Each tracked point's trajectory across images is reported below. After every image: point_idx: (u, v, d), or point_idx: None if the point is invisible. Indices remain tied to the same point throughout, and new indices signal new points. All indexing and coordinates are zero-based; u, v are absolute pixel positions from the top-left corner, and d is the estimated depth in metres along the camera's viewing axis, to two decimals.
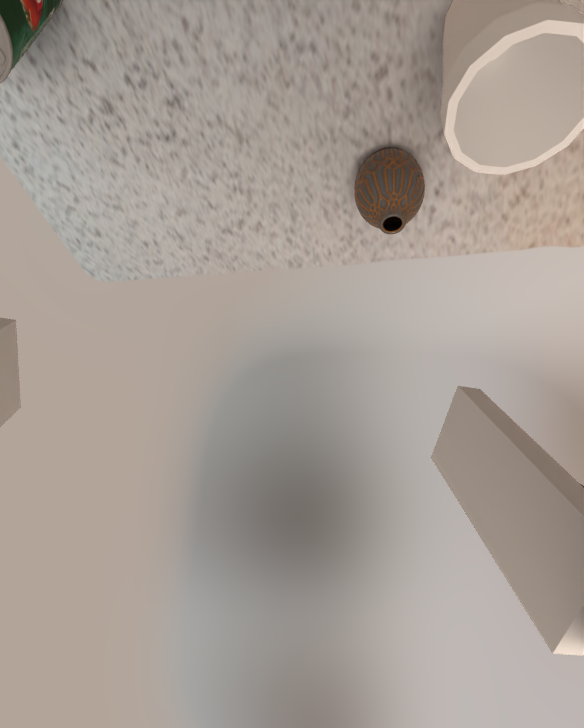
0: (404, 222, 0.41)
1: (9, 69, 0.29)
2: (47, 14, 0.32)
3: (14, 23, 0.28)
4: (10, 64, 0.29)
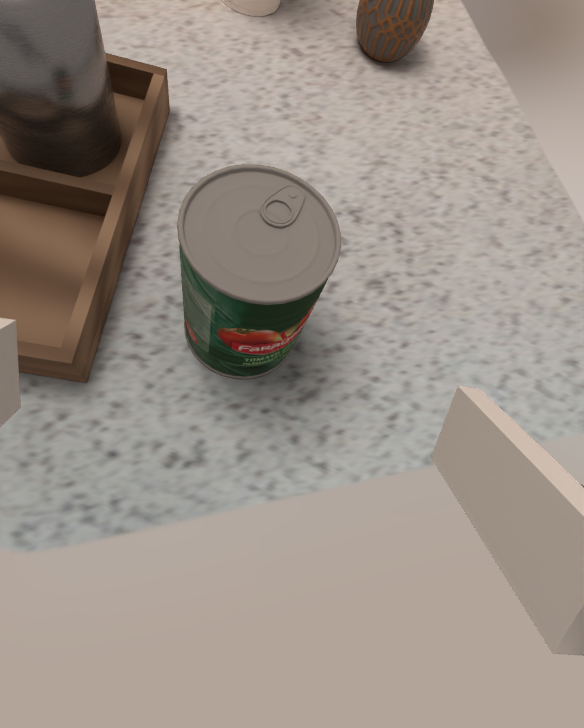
0: None
1: (308, 184, 0.22)
2: None
3: None
4: (301, 179, 0.22)
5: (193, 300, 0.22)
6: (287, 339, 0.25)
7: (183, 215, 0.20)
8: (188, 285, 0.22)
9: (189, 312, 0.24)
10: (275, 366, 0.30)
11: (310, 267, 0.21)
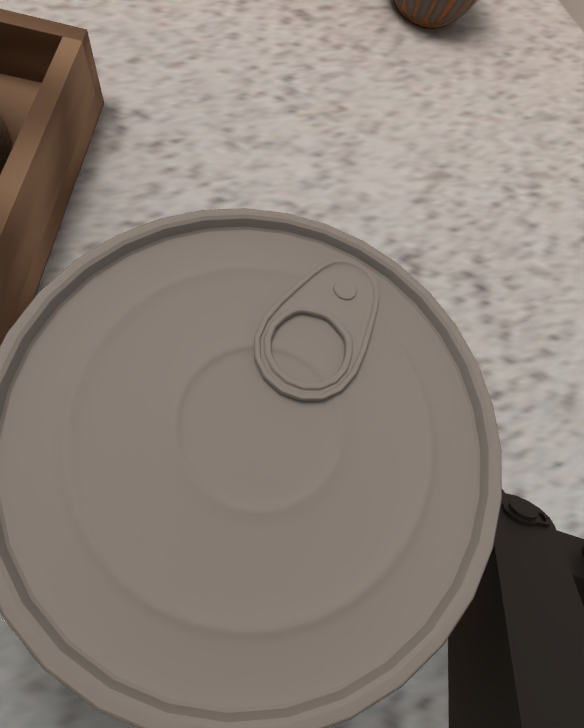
0: None
1: (384, 256, 0.08)
2: None
3: None
4: (366, 243, 0.08)
5: None
6: None
7: None
8: None
9: None
10: None
11: (420, 536, 0.07)
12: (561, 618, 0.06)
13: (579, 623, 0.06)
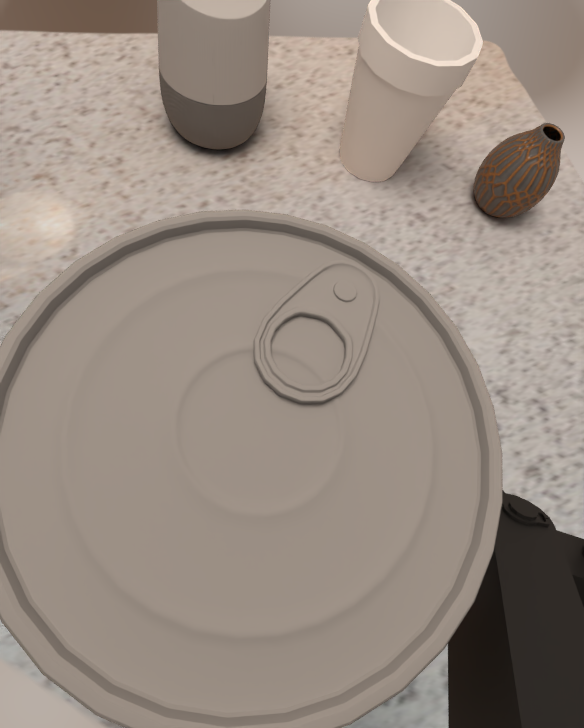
0: (545, 123, 0.39)
1: (385, 257, 0.08)
2: None
3: None
4: (367, 245, 0.08)
5: None
6: None
7: None
8: None
9: None
10: None
11: (421, 538, 0.06)
12: (561, 618, 0.06)
13: (579, 623, 0.06)
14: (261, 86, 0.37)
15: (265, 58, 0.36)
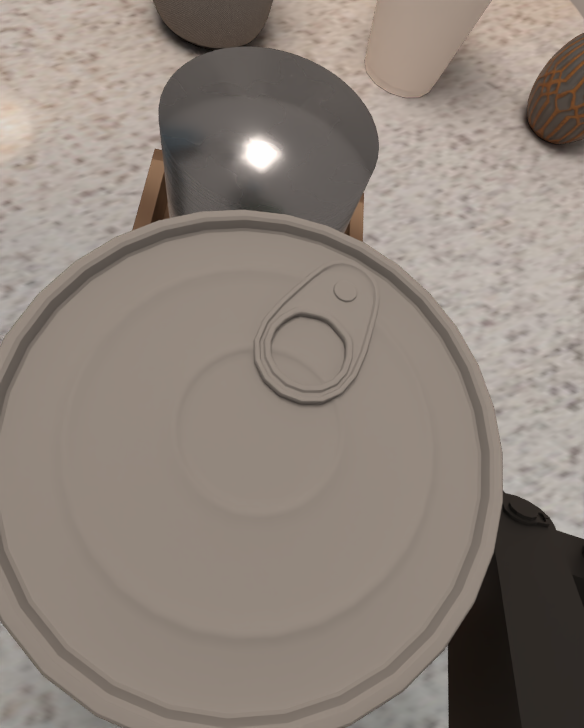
0: None
1: (385, 257, 0.08)
2: None
3: None
4: (366, 245, 0.08)
5: None
6: None
7: None
8: None
9: None
10: None
11: (421, 539, 0.06)
12: (561, 618, 0.06)
13: (579, 623, 0.06)
14: None
15: None
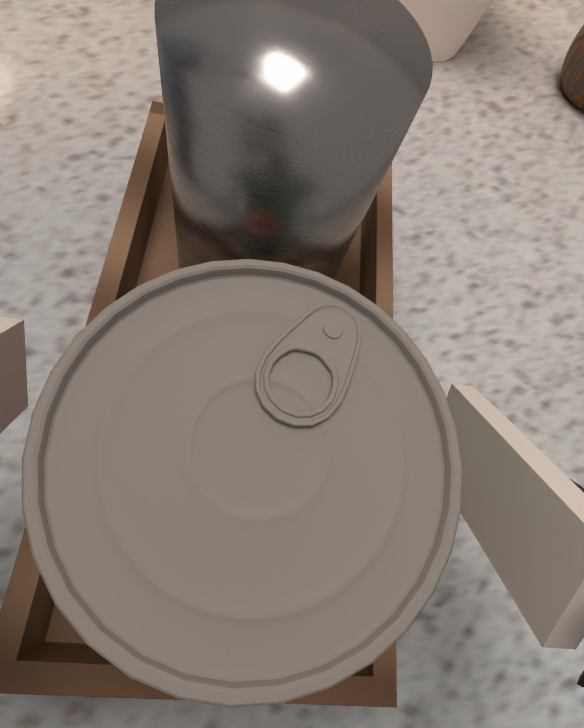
0: None
1: (367, 299, 0.09)
2: None
3: None
4: (352, 289, 0.09)
5: None
6: None
7: (44, 425, 0.07)
8: None
9: None
10: None
11: (392, 541, 0.08)
12: None
13: None
14: None
15: None
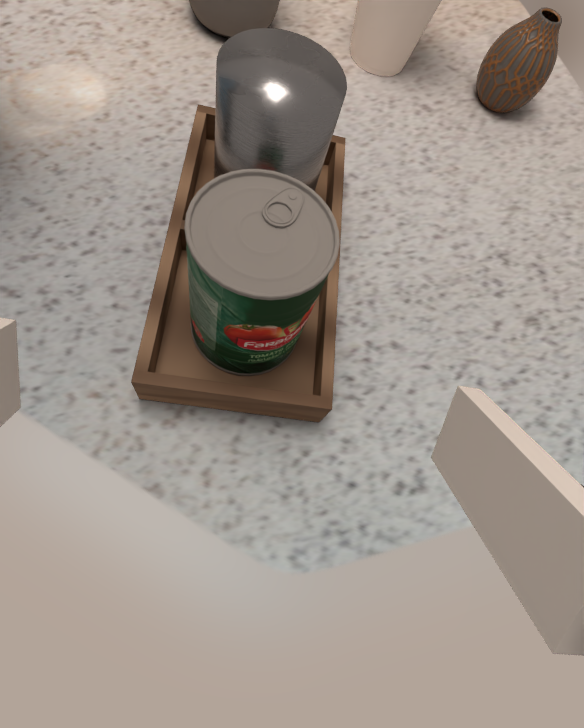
0: (544, 8, 0.41)
1: (307, 186, 0.23)
2: None
3: None
4: (300, 181, 0.23)
5: (200, 299, 0.23)
6: (290, 335, 0.26)
7: (190, 218, 0.21)
8: (195, 284, 0.23)
9: (196, 311, 0.26)
10: (279, 363, 0.31)
11: (311, 264, 0.22)
12: None
13: None
14: None
15: None
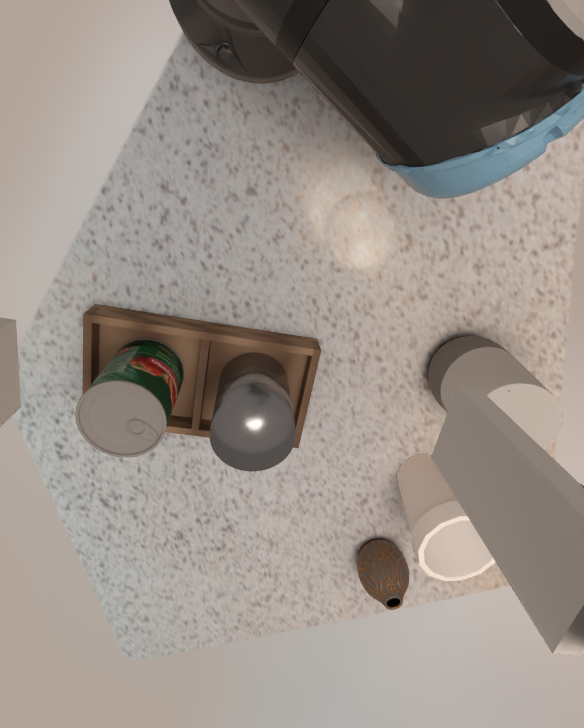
0: (401, 600, 0.55)
1: (158, 443, 0.40)
2: None
3: (168, 415, 0.40)
4: (160, 440, 0.40)
5: (102, 372, 0.40)
6: None
7: (121, 383, 0.37)
8: (104, 373, 0.39)
9: (114, 360, 0.42)
10: None
11: (104, 441, 0.40)
12: None
13: None
14: None
15: None
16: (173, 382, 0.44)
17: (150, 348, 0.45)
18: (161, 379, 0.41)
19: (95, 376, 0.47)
